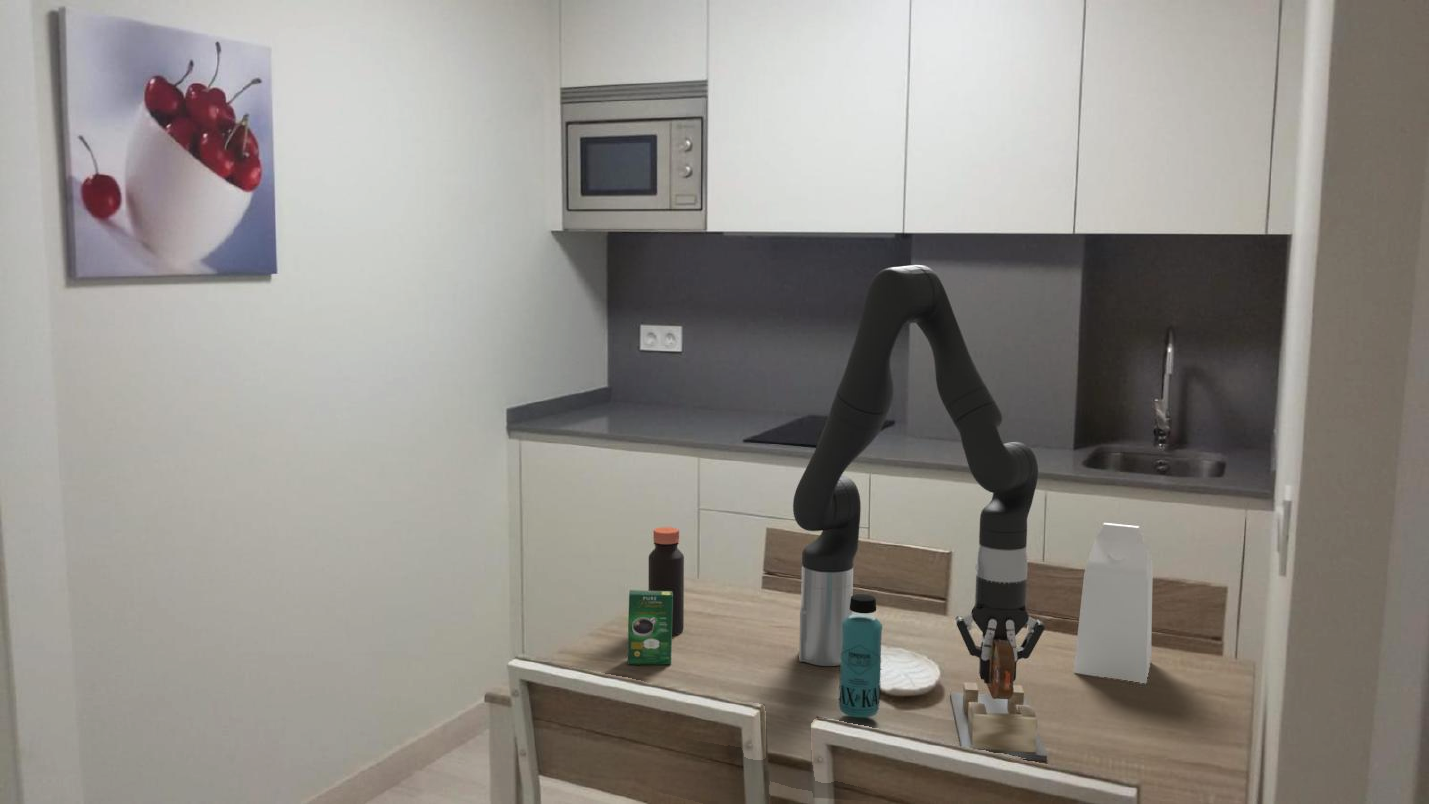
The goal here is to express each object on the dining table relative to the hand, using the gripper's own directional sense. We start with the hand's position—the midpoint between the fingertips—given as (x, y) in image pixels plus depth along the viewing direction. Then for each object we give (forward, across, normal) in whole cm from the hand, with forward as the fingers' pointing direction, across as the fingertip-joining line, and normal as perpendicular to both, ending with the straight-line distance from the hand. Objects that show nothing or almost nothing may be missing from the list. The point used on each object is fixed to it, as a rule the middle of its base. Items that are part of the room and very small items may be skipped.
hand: (997, 681), depth 172 cm
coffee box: (+7, -58, +19) cm, 62 cm away
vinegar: (+7, -58, +36) cm, 69 cm away
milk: (+8, +24, +29) cm, 39 cm away
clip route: (+7, 0, 0) cm, 7 cm away
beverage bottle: (+8, -21, 0) cm, 22 cm away
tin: (+1, 0, 0) cm, 1 cm away
